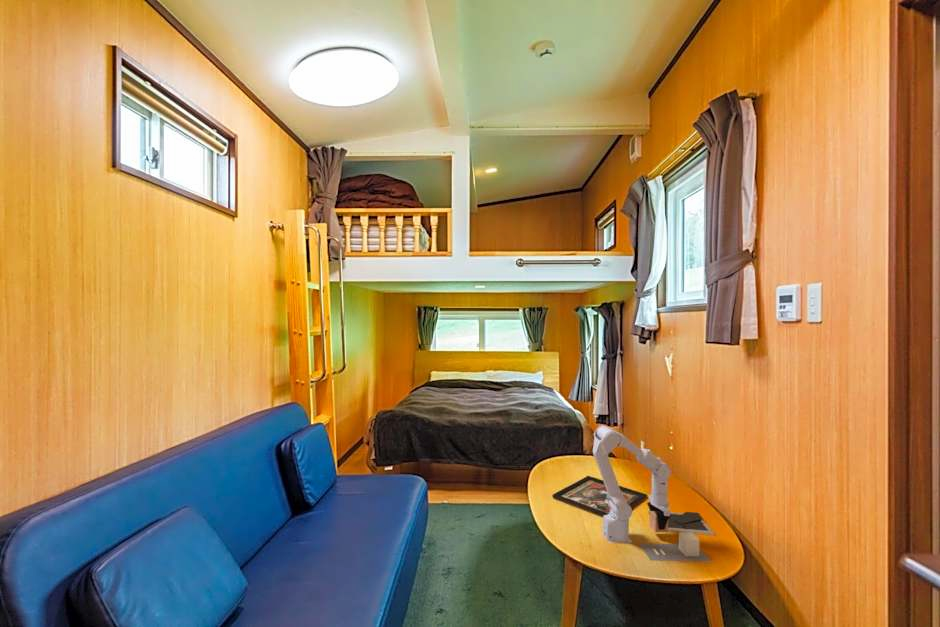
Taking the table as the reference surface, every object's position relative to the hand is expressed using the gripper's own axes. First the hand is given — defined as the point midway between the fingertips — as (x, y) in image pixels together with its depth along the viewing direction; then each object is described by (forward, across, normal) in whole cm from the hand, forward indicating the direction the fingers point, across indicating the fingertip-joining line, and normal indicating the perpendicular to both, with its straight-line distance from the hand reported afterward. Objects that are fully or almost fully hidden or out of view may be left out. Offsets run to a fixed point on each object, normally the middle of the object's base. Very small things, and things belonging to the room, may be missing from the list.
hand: (658, 525), depth 170 cm
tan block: (+4, -11, -6) cm, 13 cm away
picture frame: (+6, +11, -14) cm, 19 cm away
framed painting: (+6, +35, +12) cm, 37 cm away
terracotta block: (+1, 0, 0) cm, 1 cm away
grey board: (+5, -11, -1) cm, 12 cm away
